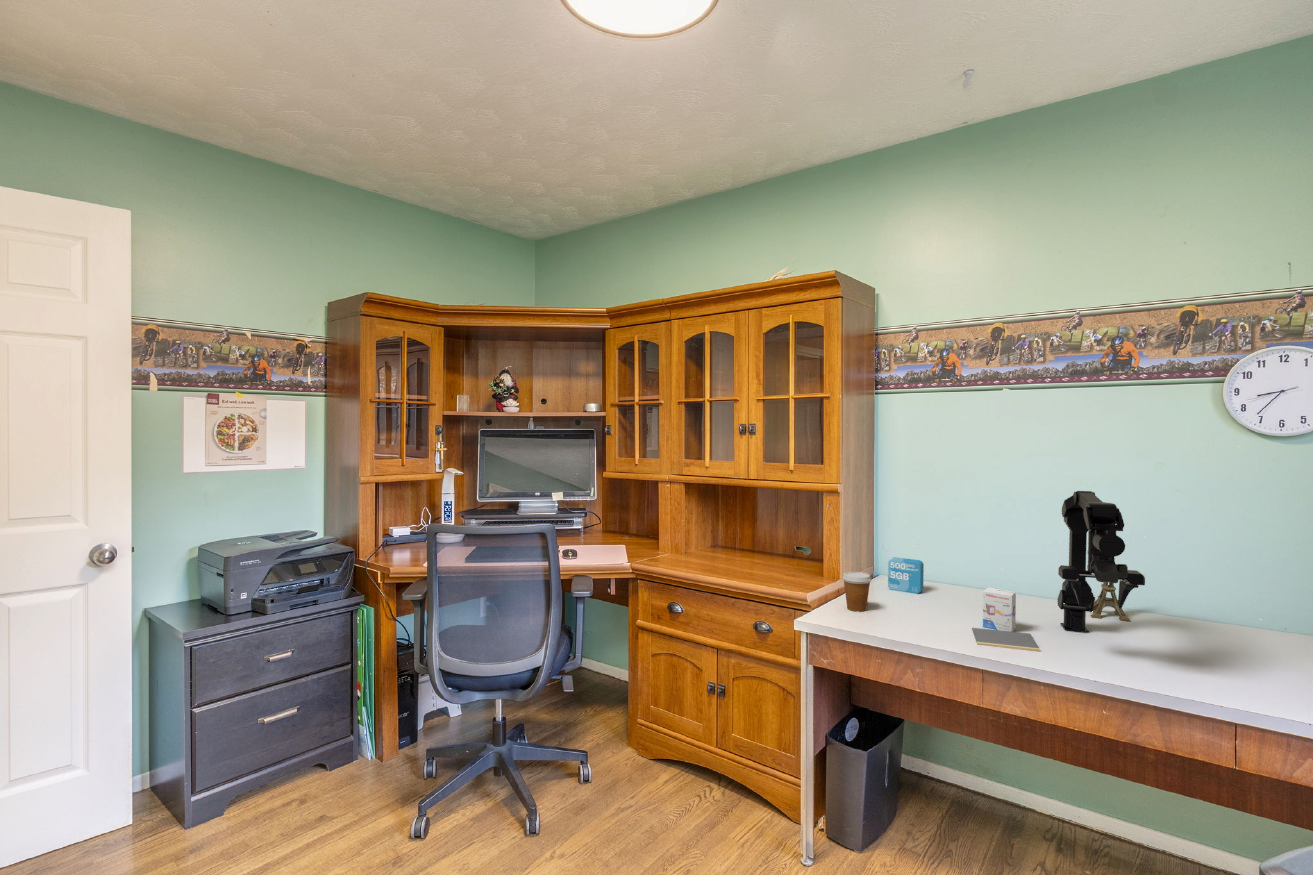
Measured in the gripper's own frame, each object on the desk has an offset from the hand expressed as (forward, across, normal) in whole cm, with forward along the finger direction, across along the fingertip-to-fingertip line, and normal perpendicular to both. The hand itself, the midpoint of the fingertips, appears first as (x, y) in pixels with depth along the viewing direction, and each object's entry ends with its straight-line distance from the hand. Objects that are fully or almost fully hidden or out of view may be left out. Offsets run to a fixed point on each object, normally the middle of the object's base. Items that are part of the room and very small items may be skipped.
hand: (1099, 606), depth 175 cm
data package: (+15, -50, +57) cm, 77 cm away
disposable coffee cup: (+15, -65, +25) cm, 71 cm away
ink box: (+15, -22, +20) cm, 33 cm away
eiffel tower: (+15, +14, +48) cm, 52 cm away
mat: (+14, -22, +8) cm, 27 cm away
